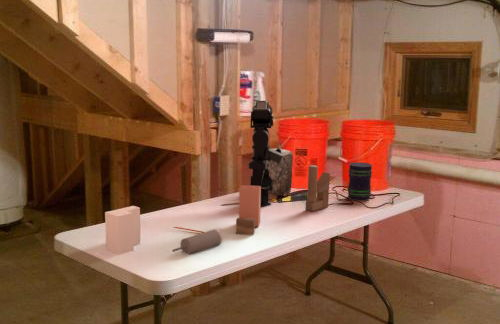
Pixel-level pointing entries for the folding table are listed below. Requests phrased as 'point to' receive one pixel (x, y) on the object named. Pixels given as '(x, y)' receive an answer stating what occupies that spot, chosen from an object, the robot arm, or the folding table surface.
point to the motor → (199, 241)
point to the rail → (245, 226)
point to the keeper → (250, 202)
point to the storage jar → (359, 181)
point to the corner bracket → (122, 229)
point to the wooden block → (317, 189)
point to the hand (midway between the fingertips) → (260, 183)
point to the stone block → (281, 173)
